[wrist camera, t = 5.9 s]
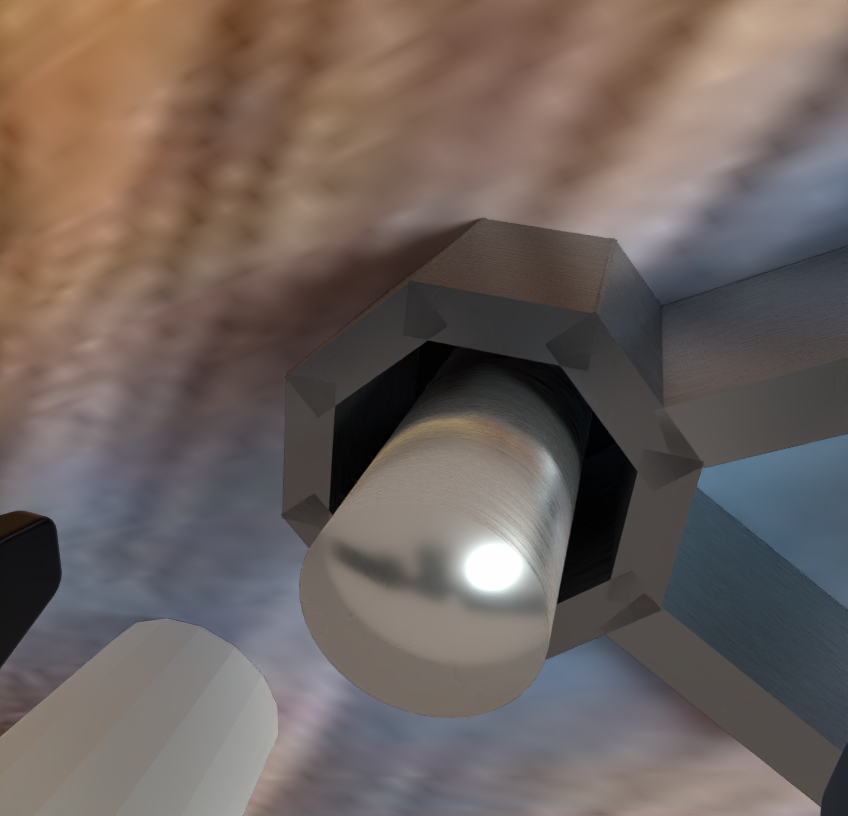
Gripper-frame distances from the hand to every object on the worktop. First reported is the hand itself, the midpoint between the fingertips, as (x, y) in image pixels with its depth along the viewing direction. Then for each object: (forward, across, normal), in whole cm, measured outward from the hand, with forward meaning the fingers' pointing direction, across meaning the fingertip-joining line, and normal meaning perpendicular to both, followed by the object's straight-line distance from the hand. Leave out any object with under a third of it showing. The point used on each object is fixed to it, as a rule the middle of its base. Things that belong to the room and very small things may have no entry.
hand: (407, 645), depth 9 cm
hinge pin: (+8, 0, 0) cm, 8 cm away
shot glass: (+9, +8, +12) cm, 17 cm away
